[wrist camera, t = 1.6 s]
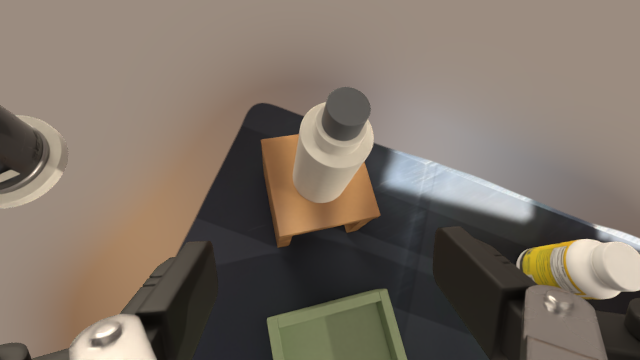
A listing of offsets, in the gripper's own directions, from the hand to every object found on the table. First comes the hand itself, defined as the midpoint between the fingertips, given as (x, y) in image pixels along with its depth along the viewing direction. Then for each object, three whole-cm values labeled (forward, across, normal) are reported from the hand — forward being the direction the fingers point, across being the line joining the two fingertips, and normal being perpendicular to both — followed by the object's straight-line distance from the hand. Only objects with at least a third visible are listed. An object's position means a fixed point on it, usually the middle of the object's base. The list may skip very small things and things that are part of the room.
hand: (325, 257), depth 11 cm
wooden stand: (+27, 0, +8) cm, 28 cm away
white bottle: (+19, -1, +3) cm, 20 cm away
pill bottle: (+23, -29, +18) cm, 41 cm away
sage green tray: (+16, -2, +22) cm, 28 cm away
